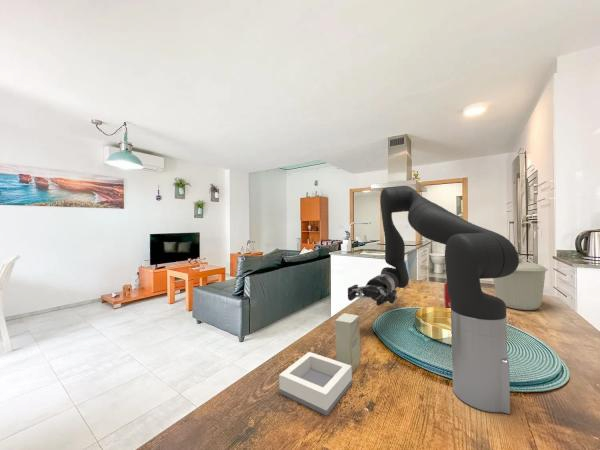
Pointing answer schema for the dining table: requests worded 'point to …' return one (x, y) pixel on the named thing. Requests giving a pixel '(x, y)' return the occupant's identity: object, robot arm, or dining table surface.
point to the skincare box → (347, 340)
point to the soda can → (446, 296)
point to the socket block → (316, 382)
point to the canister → (522, 286)
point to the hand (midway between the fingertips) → (363, 299)
